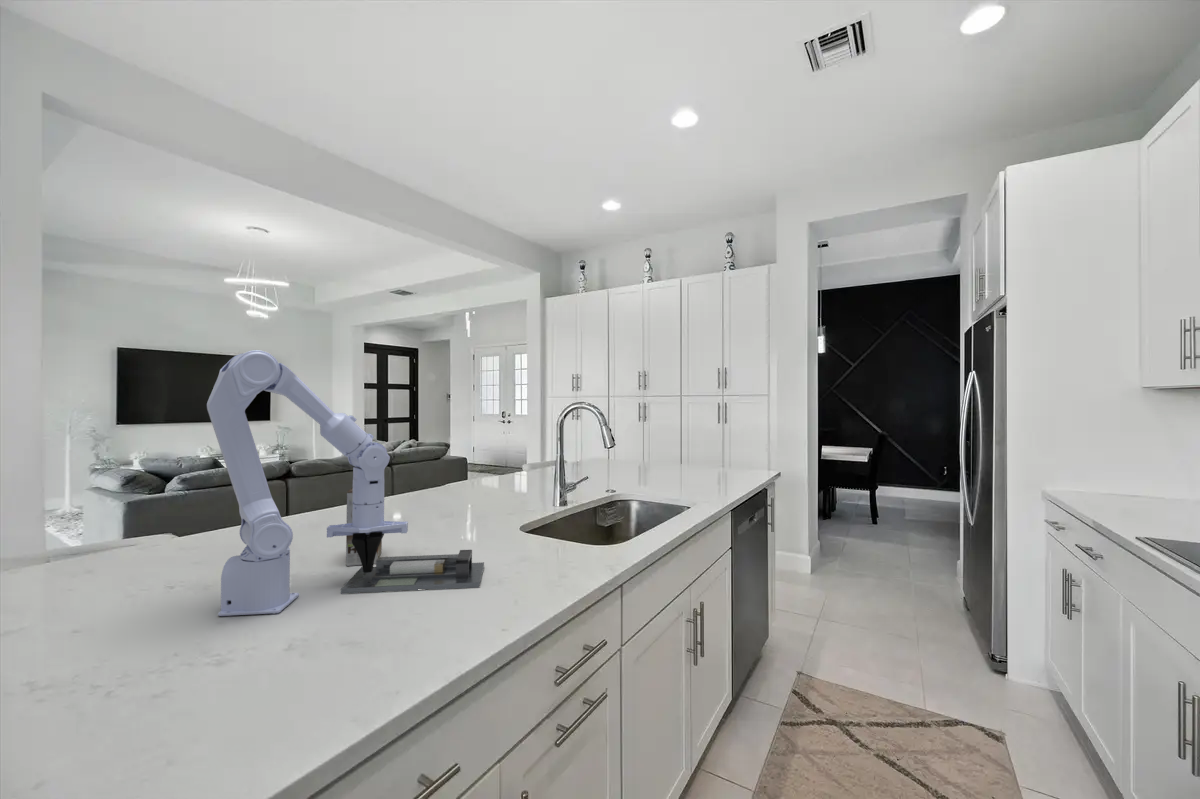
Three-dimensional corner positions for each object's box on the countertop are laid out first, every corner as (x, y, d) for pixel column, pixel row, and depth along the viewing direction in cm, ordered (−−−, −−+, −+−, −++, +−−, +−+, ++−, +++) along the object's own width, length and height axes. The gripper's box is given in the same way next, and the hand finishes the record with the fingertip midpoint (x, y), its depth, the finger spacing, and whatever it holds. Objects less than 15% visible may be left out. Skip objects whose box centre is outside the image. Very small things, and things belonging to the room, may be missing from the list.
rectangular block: (389, 577, 100) (389, 566, 100) (393, 572, 102) (393, 561, 102) (442, 575, 101) (442, 564, 101) (444, 570, 104) (445, 559, 104)
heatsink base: (340, 593, 94) (340, 569, 94) (361, 572, 106) (361, 549, 106) (479, 587, 98) (479, 563, 98) (484, 567, 110) (484, 545, 110)
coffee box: (377, 564, 111) (378, 490, 111) (345, 566, 109) (345, 492, 109) (382, 552, 120) (382, 483, 120) (352, 554, 118) (352, 485, 118)
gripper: (322, 508, 95) (321, 580, 95) (404, 504, 98) (404, 574, 98) (332, 500, 102) (332, 568, 102) (409, 497, 105) (409, 563, 105)
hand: (368, 571), depth 100 cm, fingers closed
